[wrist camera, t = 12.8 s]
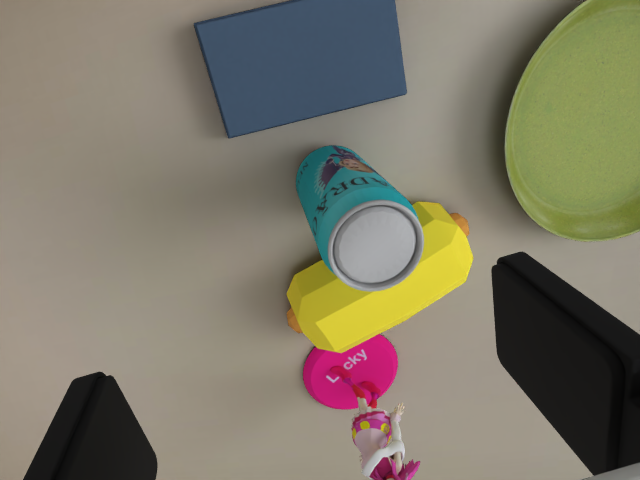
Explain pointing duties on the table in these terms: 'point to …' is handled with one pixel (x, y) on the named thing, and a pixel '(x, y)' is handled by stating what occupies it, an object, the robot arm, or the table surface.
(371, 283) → the beverage can
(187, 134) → the table surface
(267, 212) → the table surface
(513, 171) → the saucer
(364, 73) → the flat blue box
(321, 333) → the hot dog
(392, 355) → the figurine
